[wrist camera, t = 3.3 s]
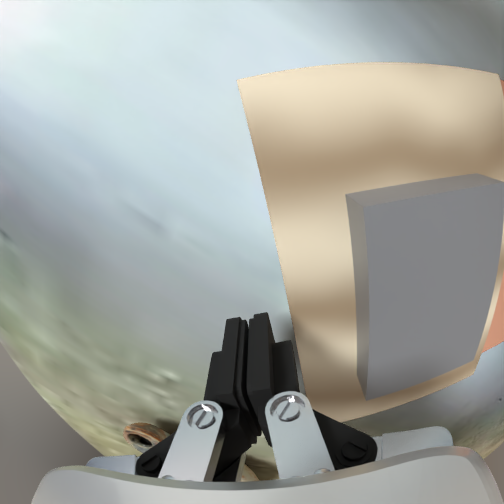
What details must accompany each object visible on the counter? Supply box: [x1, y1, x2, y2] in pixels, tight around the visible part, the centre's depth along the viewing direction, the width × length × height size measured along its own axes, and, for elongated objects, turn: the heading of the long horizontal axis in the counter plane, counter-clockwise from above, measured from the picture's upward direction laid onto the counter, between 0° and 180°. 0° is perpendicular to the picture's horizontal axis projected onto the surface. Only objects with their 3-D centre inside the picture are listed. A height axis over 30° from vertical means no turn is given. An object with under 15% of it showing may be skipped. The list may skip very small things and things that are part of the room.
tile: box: [345, 173, 504, 401], centre depth 11 cm, size 10×7×2 cm
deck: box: [237, 62, 504, 422], centre depth 13 cm, size 20×13×2 cm, turn 13°
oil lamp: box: [123, 423, 259, 482], centre depth 18 cm, size 9×21×10 cm, turn 28°
